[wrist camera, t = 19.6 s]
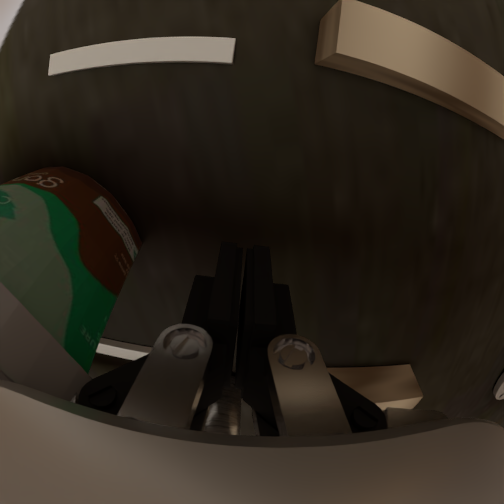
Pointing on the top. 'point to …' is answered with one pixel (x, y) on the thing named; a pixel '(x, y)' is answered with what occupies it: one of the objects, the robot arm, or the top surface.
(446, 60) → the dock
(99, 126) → the top surface
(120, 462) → the robot arm
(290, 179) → the top surface
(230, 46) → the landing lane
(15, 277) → the food container
